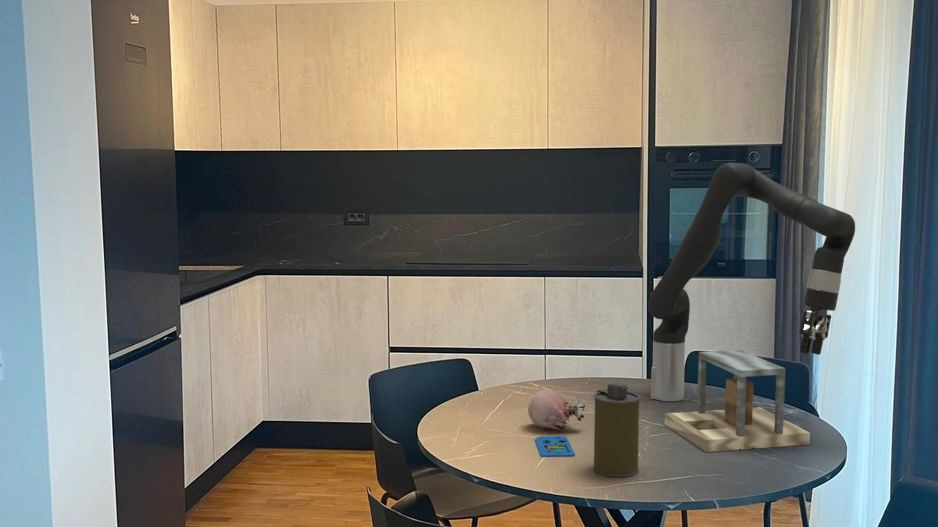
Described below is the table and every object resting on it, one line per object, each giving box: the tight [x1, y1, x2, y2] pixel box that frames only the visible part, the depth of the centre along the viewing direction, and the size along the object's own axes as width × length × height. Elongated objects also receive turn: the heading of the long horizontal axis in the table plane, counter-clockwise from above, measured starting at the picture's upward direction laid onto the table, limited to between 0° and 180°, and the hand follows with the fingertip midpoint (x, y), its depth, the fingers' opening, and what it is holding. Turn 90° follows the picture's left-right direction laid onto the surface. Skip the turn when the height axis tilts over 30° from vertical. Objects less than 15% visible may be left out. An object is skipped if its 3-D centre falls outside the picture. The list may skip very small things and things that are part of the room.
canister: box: [592, 382, 641, 478], centre depth 210 cm, size 11×10×20 cm
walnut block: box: [724, 378, 754, 426], centre depth 238 cm, size 5×5×11 cm
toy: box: [527, 389, 586, 432], centre depth 244 cm, size 12×11×15 cm
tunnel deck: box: [664, 349, 811, 453], centre depth 237 cm, size 28×24×20 cm
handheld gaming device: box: [534, 435, 576, 458], centre depth 228 cm, size 8×1×15 cm
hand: (810, 353), depth 229 cm, fingers open, 8 cm apart
